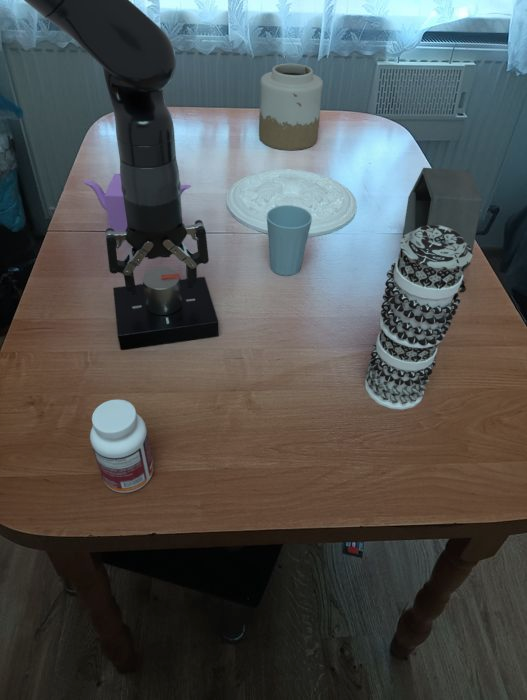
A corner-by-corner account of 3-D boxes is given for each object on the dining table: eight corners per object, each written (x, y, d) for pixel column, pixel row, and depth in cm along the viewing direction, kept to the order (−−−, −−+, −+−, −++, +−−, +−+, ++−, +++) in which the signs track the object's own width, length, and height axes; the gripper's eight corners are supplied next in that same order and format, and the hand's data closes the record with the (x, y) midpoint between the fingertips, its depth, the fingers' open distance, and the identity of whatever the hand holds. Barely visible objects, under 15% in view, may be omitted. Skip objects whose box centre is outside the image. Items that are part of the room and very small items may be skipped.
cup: (256, 262, 99) (258, 211, 92) (290, 251, 102) (294, 201, 95) (279, 284, 95) (283, 232, 87) (314, 271, 98) (320, 220, 91)
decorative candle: (382, 355, 82) (420, 207, 65) (437, 385, 78) (494, 234, 61) (349, 389, 77) (382, 237, 60) (407, 422, 73) (460, 269, 56)
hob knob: (146, 316, 82) (142, 288, 79) (145, 294, 86) (141, 266, 83) (183, 313, 83) (181, 285, 79) (180, 291, 87) (178, 264, 83)
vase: (257, 149, 135) (259, 77, 124) (260, 125, 147) (262, 58, 135) (318, 152, 135) (325, 81, 124) (316, 128, 147) (323, 61, 135)
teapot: (125, 258, 99) (116, 203, 91) (91, 227, 106) (80, 174, 98) (194, 231, 106) (191, 179, 99) (157, 204, 113) (152, 154, 106)
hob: (120, 350, 81) (117, 334, 79) (115, 301, 89) (112, 286, 87) (218, 336, 84) (218, 321, 82) (205, 290, 92) (204, 275, 90)
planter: (401, 210, 106) (432, 147, 86) (440, 213, 105) (481, 151, 85) (399, 292, 102) (432, 246, 82) (440, 295, 102) (483, 250, 81)
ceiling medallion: (224, 236, 105) (224, 222, 103) (227, 172, 126) (227, 158, 123) (366, 238, 107) (369, 224, 104) (346, 174, 127) (348, 161, 125)
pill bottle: (121, 445, 69) (107, 386, 61) (163, 462, 67) (154, 404, 59) (91, 483, 64) (72, 425, 57) (135, 503, 63) (121, 446, 55)
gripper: (200, 173, 75) (204, 269, 86) (95, 180, 72) (113, 279, 83) (209, 198, 70) (212, 297, 81) (96, 207, 67) (115, 309, 78)
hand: (162, 288), depth 82 cm, fingers open, 8 cm apart
